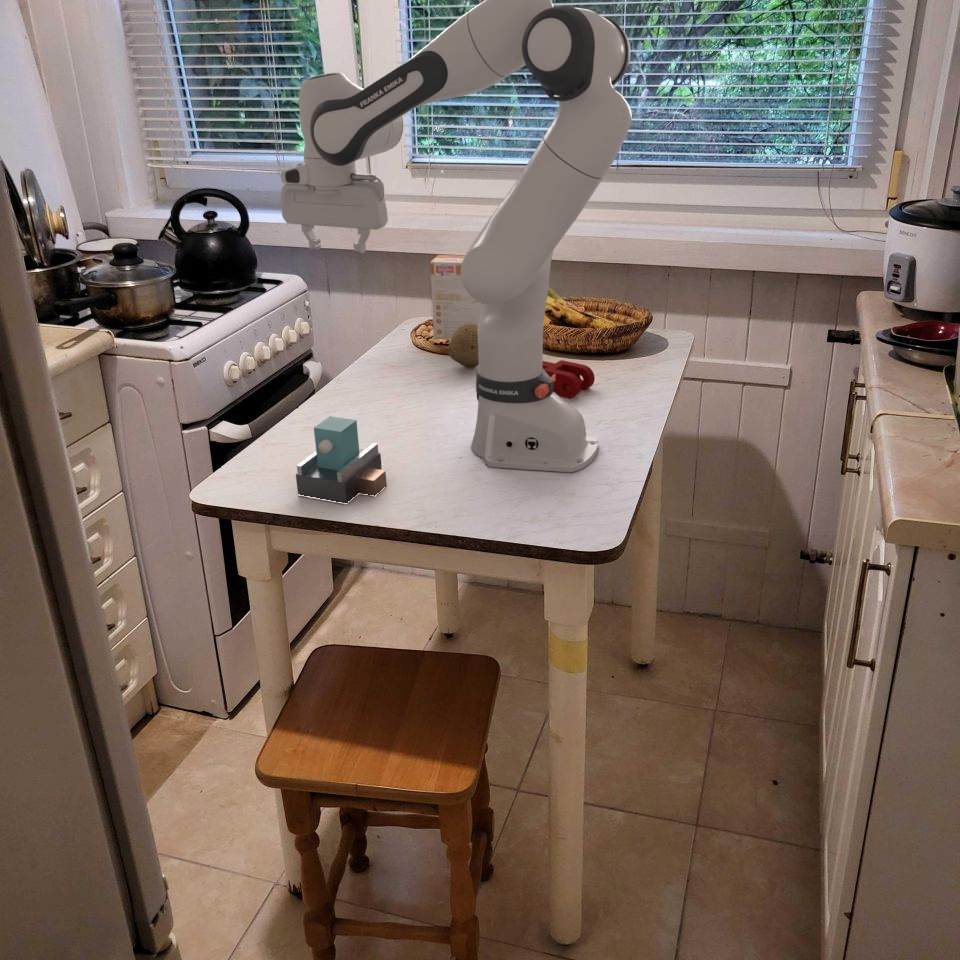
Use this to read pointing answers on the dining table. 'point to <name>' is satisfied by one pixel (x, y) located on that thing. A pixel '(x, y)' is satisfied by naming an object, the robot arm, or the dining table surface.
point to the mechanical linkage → (569, 377)
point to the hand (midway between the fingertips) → (337, 250)
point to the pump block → (336, 442)
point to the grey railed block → (342, 477)
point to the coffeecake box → (451, 297)
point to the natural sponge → (465, 345)
